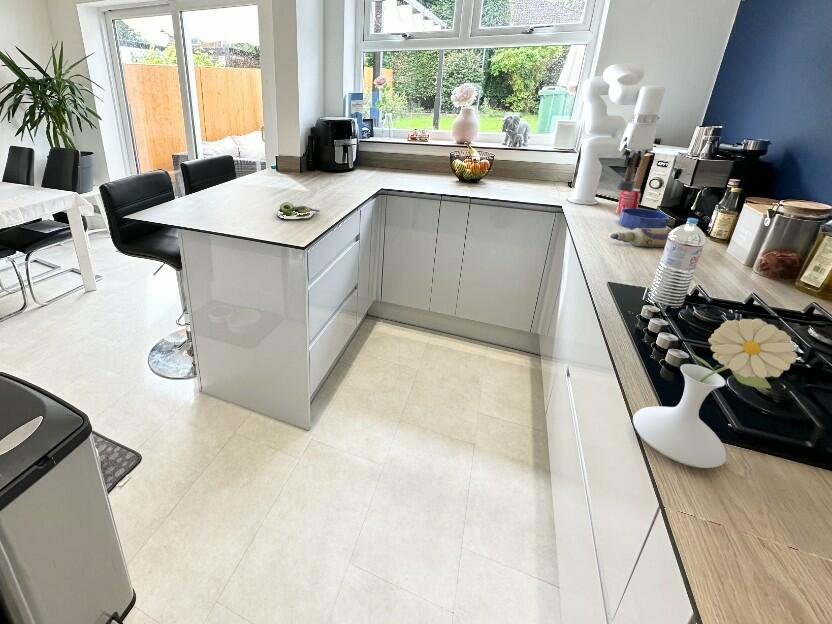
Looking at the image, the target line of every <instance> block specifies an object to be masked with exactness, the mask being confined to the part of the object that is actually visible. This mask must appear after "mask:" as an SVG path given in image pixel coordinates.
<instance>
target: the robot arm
mask: <svg viewBox="0 0 832 624" xmlns="http://www.w3.org/2000/svg"><path fill="white" fill-rule="evenodd" d="M644 75H645V68H644V66H643V65H642V64H640V63H615V64H612V65H609V66H607V68H605V69H604V71H603V75H597V76H592V77H589V78H588V79H586V80H585V82H584V84H583V87H582V94H581V95H582V100H583V101H582V102H583V104H584V108H585V114H584V115H585V118H584V122H585V123H584V129H585V133H586V135H588V136H590V137H588V138H585V139H584V140H583V141H582V142H581V146H580V159H579V166H578V170H577V174H576V179H575V184H574V188H573V190H571V191H570V194H571V196H569V197H568V198H567V201H569V202H571V203H572V204H573V203H574V204H578V205H584V206H586V205H587V206H592V205H594V206H595V205H597V204H598V203H599V201H598V200H597V199H596V195H597V191H598V187H599V183H600V179H601V175H602V171H603V165H602V163H601V161H600V159H617V158H620V157H623V155H624V157H625V158H624V164H623V167H624V168H627V167H628V168H631V166H632V162H633V158H632V157H633V153H634V152H635V151H636V152H637V153H639V155H638V158H637V162H636V165H635V168H637V169H638V168H640V164H641V161H642V159H643V158H645V156H646V155H647V154H648V153H651V152H653V149H654V147H653V146H654V143H655V140H656V135H657V129H658V127H657V125H658V124H657V121H659V120H660V116H659V113H660V110H661V106H662V103H663V99H664V96H665V91H666V87H665V86H664V85H657V84H656V85H655V84H639V83H640V82H641V81H642V80H643V78H644ZM601 96H608V98H609V99H610V100H611V102H612V103H614V105H615V104H616V105H619V106H635V108H634V111H633V115H632V119H631V122H629V123H628V124H627V125H626V119H625V118H624V117H623V116H621V115H614V114H613V115H612V114H611V115H609V114H608V111H607V110H608V106H607V103H606V101H605V100H604V99H603V98H602V97H601ZM591 136H592V137H591Z"/></svg>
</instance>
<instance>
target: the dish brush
mask: <svg viewBox="0 0 832 624" xmlns="http://www.w3.org/2000/svg"><path fill="white" fill-rule="evenodd" d="M638 155H639V153H637V151H636V152H635V151H634V153H633V157H632V158H633V162H632V166H631V168H628V167H626V171H625V175H624V178H620V179H619V181H618V182H619V183H618V186H617V189H618V190H619V191H632V190H633V188H635V184H636V180H635V179H633V176H634V172H635V168H636V167H635V165H636V162H637V158H638Z"/></svg>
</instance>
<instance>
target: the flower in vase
mask: <svg viewBox="0 0 832 624" xmlns="http://www.w3.org/2000/svg"><path fill="white" fill-rule="evenodd" d="M713 332H714V333H712V334H711V335H710V337H709V338H708V341H707V342H708V343H710V345H711V346H710V350H711V352H713V355H712V358H713V359H714V360H716V361H718V364H720V365H724V366H723V367H721V368H720V367H719V368H718V369H714V368H713V367H712V366H711V365H710V364H709V363H708V362H707V361H706V360H704V359H703V358H701V357H699V356H698V355H695V354H694V353H693V352H692V351H691V350H690V349H689V348H687V350H688V352H689V353H690V354H691V355H692V356H693V358H695V359H696V360H697V361H698V362H701V363H702V364H703V365H705V366H707V367H709V368H707V367H705V366H701V365H699V364H692V363H684V364H682V365H680V367H679V369H680V371H681V373H682V375H683V379H684V389H683V394H682V396H681V399H680V401H679V403H678V404H677V405H676V406H661V405H660V406H659V405H656V406H646V407H642V408H640V409H639V410H637V411H636V412H635V413H634V414H633V416H632V423H633V426H634V428H635V431H636V433H637V434H638V435H639V436H640V438H641V439H642V440H643V441H644V442H645V443H646V444H648V446H650V447H651V448H652V449H654V450H655V451H656V452H658V453H659V454H661V455H663V456H664V457H666V458H668V459H670V460H672V461H675V462H677V463H680V464H682V465H685V466H688V467H694V468H698V469H699V468H700V469H712V468H717V467H720V466H722V465H723V464H725V462H726V460H727V454H726V448H725V446H724V443H723V442H722V441H721V439H720V438H719V436H718V435H717V434H716V433H715V432H714V431H713V430H712V429H711V427H709V425H707V424H706V423H705V422H704V421H703V420H701V418H700V415H699V413H700V409H701V406H702V404H703V402H704V401H705V400H706V397H707V396H708V395H709V394H710V393H711V392H712V391H714V390H716V389H718V388H722V387H724V386H726V380H725V379H724V377H722V376H721V375H720V374H719V373H720V372H723V371H725V370H727V369H730V370H731V372H732V375H733V376H734V377H735V379H736V380H737V382H739V383H740V384H742V385H745V386H748V387H754V388H761V389H772V386H771V385H770V383H769V381H768V380H767V379H766V378H770V377H773V378H779V377H780V376H781V374H783V373H784V371H788V370H790V368H791V364H794V363H796V361H797V359H796V358H798V354H797V353H796V352H795V351H794V349H795V345H794V344H793V343H791V341H792V337H791V336H790V335H789V334H788V333H787V332H786V331H784V330H780V329H779V328H778V327H777V326H776V325H774V324H768V323H767V322H766V321H763V319H760V318H754V319H752V318H747V319H746V318H741V319H740V320H737V319H733V320H730V319H728V320H725V321H724V322H723V323H721V324H720V327H718V328H717V329H716V328H715V330H714V331H713Z"/></svg>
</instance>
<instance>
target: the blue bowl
mask: <svg viewBox="0 0 832 624" xmlns="http://www.w3.org/2000/svg"><path fill="white" fill-rule="evenodd" d="M669 219H670V217H669V215H668V214H666V213H664V212H660V211H657V210H651V209H645V208H638V207H637V208H627V209H623V210H622V212H621V216H620V215H619V220H618V223H619V224H620V225H621V226H623V227H625V228H627V229H631V230H633V229H635V228H660V229H662V228H663V229H664V228H665V229H667V225H668V222H669Z"/></svg>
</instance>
